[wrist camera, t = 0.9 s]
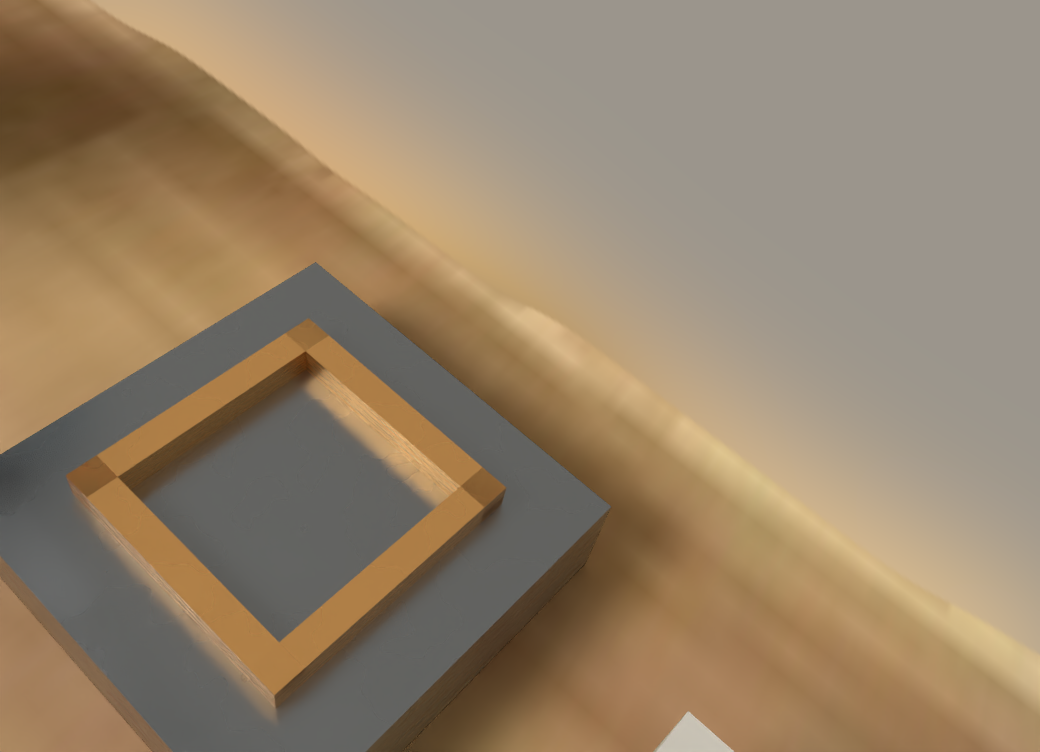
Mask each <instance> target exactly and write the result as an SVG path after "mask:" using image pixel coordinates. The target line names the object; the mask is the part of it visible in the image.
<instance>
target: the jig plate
mask: <svg viewBox="0 0 1040 752" xmlns="http://www.w3.org/2000/svg"><path fill="white" fill-rule="evenodd" d="M610 508H611V506H610V505H608V504H607V503H606V502H605V501H604V500H602V499H601V498H600V497H599V496H598V495H596V494H595V493H594V492H593V491H592V490H590V489H589V488H588V487H587V486H586V485H584V484H583V483H582V482H581V481H579V480H578V479H577V478H576V477H575V476H573V475H572V474H571V473H570V472H569V471H567V470H566V469H565V468H564V467H563V466H561V465H560V464H559V463H558V462H557V461H555V460H554V459H553V458H552V457H550V456H549V455H548V454H547V453H546V452H544V451H543V450H542V449H541V448H540V447H538V446H537V445H536V444H535V443H534V442H532V441H531V440H530V439H529V438H528V437H526V436H525V435H524V434H523V433H521V432H520V431H519V430H518V429H517V428H515V427H514V426H513V425H512V424H511V423H509V422H508V421H507V420H506V419H505V418H503V417H502V416H501V415H500V414H499V413H497V412H496V411H495V410H494V409H492V408H491V407H490V406H489V405H488V404H486V403H485V402H484V401H483V400H482V399H480V398H479V397H478V396H477V395H476V394H474V393H473V392H472V391H471V390H470V389H468V388H467V387H466V386H465V385H463V384H462V383H461V382H460V381H459V380H457V379H456V378H455V377H454V376H453V375H451V374H450V373H449V372H448V371H447V370H445V369H444V368H443V367H442V366H441V365H439V364H438V363H437V362H436V361H434V360H433V359H432V358H431V357H430V356H428V355H427V354H426V353H425V352H424V351H422V350H421V349H420V348H419V347H418V346H416V345H415V344H414V343H413V342H412V341H410V340H409V339H408V338H407V337H405V336H404V335H403V334H402V333H401V332H399V331H398V330H397V329H396V328H395V327H393V326H392V325H391V324H390V323H389V322H387V321H386V320H385V319H384V318H383V317H381V316H380V315H379V314H378V313H376V312H375V311H374V310H373V309H372V308H370V307H369V306H368V305H367V304H366V303H364V302H363V301H362V300H361V299H360V298H358V297H357V296H356V295H355V294H353V293H352V292H351V291H350V290H349V289H347V288H346V287H345V286H344V285H343V284H341V283H340V282H339V281H338V280H337V279H335V278H334V277H333V276H332V275H331V274H329V273H328V272H327V271H326V270H324V269H323V268H322V267H321V266H320V265H318V264H317V263H316V262H315V263H314V264H312V265H310V266H309V267H307V268H305V269H304V270H302V271H300V272H299V273H297V274H296V275H294V276H292V277H291V278H289V279H287V280H286V281H284V282H282V283H281V284H279V285H278V286H276V287H274V288H273V289H271V290H269V291H268V292H266V293H264V294H263V295H261V296H259V297H258V298H256V299H255V300H253V301H251V302H250V303H248V304H246V305H245V306H243V307H241V308H240V309H238V310H237V311H235V312H233V313H232V314H230V315H228V316H227V317H225V318H223V319H222V320H220V321H219V322H217V323H215V324H214V325H212V326H210V327H209V328H207V329H205V330H204V331H202V332H200V333H199V334H197V335H196V336H194V337H192V338H191V339H189V340H187V341H186V342H184V343H182V344H181V345H179V346H178V347H176V348H174V349H173V350H171V351H169V352H168V353H166V354H164V355H163V356H161V357H160V358H158V359H156V360H155V361H153V362H151V363H150V364H148V365H146V366H145V367H143V368H141V369H140V370H138V371H137V372H135V373H133V374H132V375H130V376H128V377H127V378H125V379H123V380H122V381H120V382H119V383H117V384H115V385H114V386H112V387H110V388H109V389H107V390H105V391H104V392H102V393H101V394H99V395H97V396H96V397H94V398H92V399H91V400H89V401H87V402H86V403H84V404H82V405H81V406H79V407H78V408H76V409H74V410H73V411H71V412H69V413H68V414H66V415H64V416H63V417H61V418H60V419H58V420H56V421H55V422H53V423H51V424H50V425H48V426H46V427H45V428H43V429H42V430H40V431H38V432H37V433H35V434H33V435H32V436H30V437H28V438H27V439H25V440H23V441H22V442H20V443H19V444H17V445H15V446H14V447H12V448H10V449H9V450H7V451H5V452H4V453H2V454H1V455H0V577H1V578H2V579H3V580H4V582H5V583H6V584H7V585H8V586H9V587H10V588H11V590H12V591H13V592H14V593H15V594H16V595H17V597H18V598H19V599H20V600H21V601H22V602H23V603H24V605H25V606H26V607H27V608H28V609H29V610H30V611H31V613H32V614H33V615H34V616H35V617H36V618H37V619H38V621H39V622H40V623H41V624H42V625H43V626H44V628H45V629H46V630H47V631H48V632H49V633H50V634H51V636H52V637H53V638H54V639H55V640H56V641H57V642H58V644H59V645H60V646H61V647H62V648H63V649H64V650H65V652H66V653H67V654H68V655H69V656H70V657H71V658H72V660H73V661H74V662H75V663H76V664H77V665H78V667H79V668H80V669H81V670H82V671H83V672H84V673H85V675H86V676H87V677H88V678H89V679H90V680H91V681H92V683H93V684H94V685H95V686H96V687H97V688H98V689H99V691H100V692H101V693H102V694H103V695H104V696H105V698H106V699H107V700H108V701H109V702H110V703H111V704H112V706H113V707H114V708H115V709H116V710H117V711H118V712H119V714H120V715H121V716H122V717H123V718H124V719H125V720H126V722H127V723H128V724H129V725H130V726H131V727H132V728H133V730H134V731H135V732H136V733H137V734H138V735H139V737H140V738H141V739H142V740H143V741H144V742H145V743H146V745H147V746H148V747H149V748H150V749H151V750H152V751H153V752H402V751H403V750H404V749H405V748H406V747H407V746H408V745H409V744H410V743H411V742H412V741H413V740H414V739H415V738H416V737H417V736H418V735H419V734H420V733H421V732H422V730H423V729H424V728H425V727H426V726H427V725H428V724H429V723H430V722H431V721H432V720H433V719H434V718H435V717H436V716H437V715H438V714H439V713H440V712H441V711H442V710H443V709H444V708H445V707H446V706H447V705H448V704H449V703H450V702H451V701H452V700H453V699H454V698H455V697H456V696H457V695H458V694H459V693H460V692H461V691H462V689H463V688H464V687H465V686H466V685H467V684H468V683H469V682H470V681H471V680H472V679H473V678H474V677H475V676H476V675H477V674H478V673H479V672H480V671H481V670H482V669H483V668H484V667H485V666H486V665H487V664H488V663H489V662H490V661H491V660H492V659H493V658H494V657H495V656H496V655H497V654H498V653H499V652H500V651H501V650H502V649H503V647H504V646H505V645H506V644H507V643H508V642H509V641H510V640H511V639H512V638H513V637H514V636H515V635H516V634H517V633H518V632H519V631H520V630H521V629H522V628H523V627H524V626H525V625H526V624H527V623H528V622H529V621H530V620H531V619H532V618H533V617H534V616H535V615H536V614H537V613H538V612H539V611H540V610H541V609H542V608H543V607H544V605H545V604H546V603H547V602H548V601H549V600H550V599H551V598H552V597H553V596H554V595H555V594H556V593H557V592H558V591H559V590H560V589H561V588H562V587H563V586H564V585H565V584H566V583H567V582H568V581H569V580H570V579H571V578H572V577H573V576H574V575H575V574H576V573H577V572H578V571H579V570H580V569H581V568H582V567H583V566H584V564H585V563H586V561H587V559H588V557H589V555H590V552H591V550H592V548H593V546H594V544H595V541H596V539H597V537H598V535H599V533H600V530H601V528H602V526H603V524H604V522H605V519H606V517H607V515H608V513H609V511H610Z"/></svg>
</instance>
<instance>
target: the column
mask: <svg viewBox="0 0 1040 752" xmlns="http://www.w3.org/2000/svg"><path fill="white" fill-rule="evenodd" d="M653 752H734V751H733V750H732V749H731V748H729V747H728V746H727V745H726V744H725V743H724V742H723V741H722V740H720V739H719V738H718V737H717V736H716V735H715V734H714V733H713V732H711V731H710V730H709V729H708V728H707V727H706V726H705V725H703V724H702V723H701V722H700V721H699V720H698V719H697V718H696V717H694V716H693V715H692V714H691V713H690V712H689V711H688V712H687V713H686V714H685V715H684V716H683V718H682V719H681V720H680V721H679V722H678V723H677V725H676V726H675V727H674V728H673V729H672V730H671V732H670V733H669V734H668V735H667V736H666V737H665V739H664V740H663V741H662V742H661V743H660V744H659V746H658V747H657V748H656V749H655V750H654V751H653Z"/></svg>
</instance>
